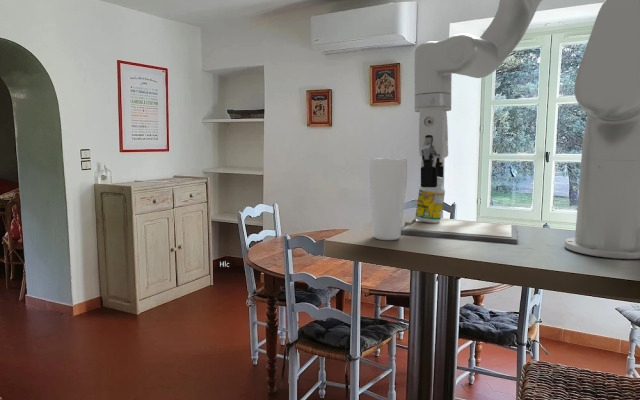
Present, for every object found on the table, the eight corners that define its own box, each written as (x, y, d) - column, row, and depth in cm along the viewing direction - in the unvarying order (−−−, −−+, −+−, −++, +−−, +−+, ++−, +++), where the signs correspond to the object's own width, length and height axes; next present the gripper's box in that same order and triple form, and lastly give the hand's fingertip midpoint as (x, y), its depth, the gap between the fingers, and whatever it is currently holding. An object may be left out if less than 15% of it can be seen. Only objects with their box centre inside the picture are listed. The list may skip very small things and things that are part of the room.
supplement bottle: (445, 223, 102) (452, 179, 101) (425, 223, 100) (433, 178, 98) (428, 217, 107) (435, 175, 106) (409, 217, 104) (416, 173, 103)
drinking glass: (393, 243, 86) (396, 159, 84) (361, 238, 90) (363, 158, 88) (410, 237, 91) (413, 159, 89) (380, 233, 95) (382, 157, 94)
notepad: (516, 229, 102) (516, 221, 101) (517, 243, 87) (517, 235, 87) (412, 221, 110) (412, 214, 109) (397, 233, 95) (397, 225, 95)
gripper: (446, 99, 91) (445, 188, 93) (455, 106, 107) (455, 183, 109) (406, 101, 94) (406, 188, 95) (421, 108, 110) (421, 182, 111)
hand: (432, 185), depth 102 cm, fingers open, 9 cm apart
